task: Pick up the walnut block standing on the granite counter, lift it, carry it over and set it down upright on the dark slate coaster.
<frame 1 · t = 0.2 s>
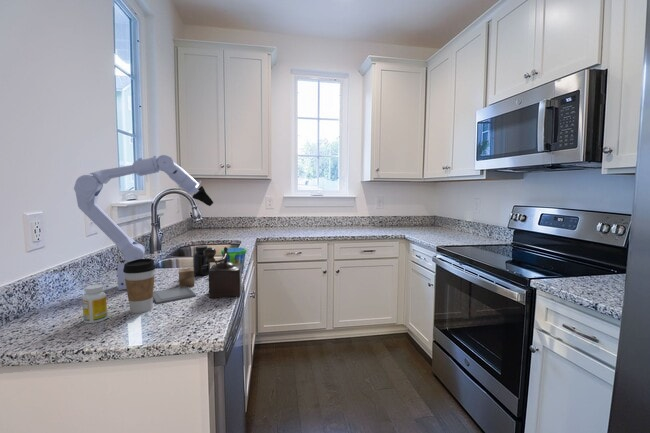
hand: (211, 203, 129), 31 cm above the counter, tool tilted 45°, fingers open, 7 cm apart
supplement bottle 2: (95, 320, 89), on the counter
coffee cup: (141, 310, 97), on the counter
block: (186, 285, 121), on the counter
manual coffee grinder: (224, 296, 110), on the counter
supplement bottle: (202, 274, 136), on the counter
snack cup: (234, 272, 139), on the counter
coaster: (173, 295, 110), on the counter
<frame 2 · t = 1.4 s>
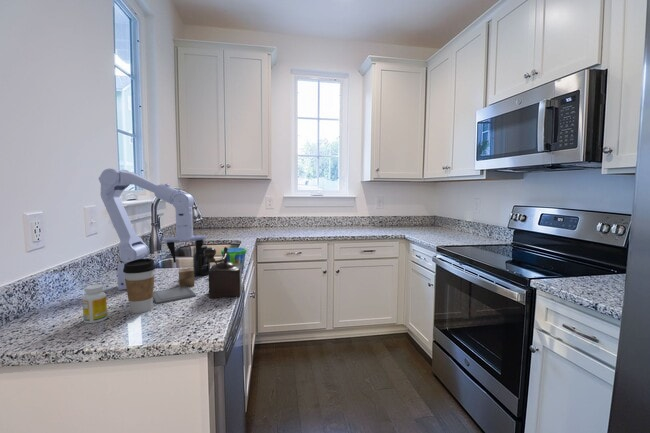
hand: (185, 261, 120), 9 cm above the counter, tool pointing down, fingers open, 7 cm apart
nothing on the counter moved.
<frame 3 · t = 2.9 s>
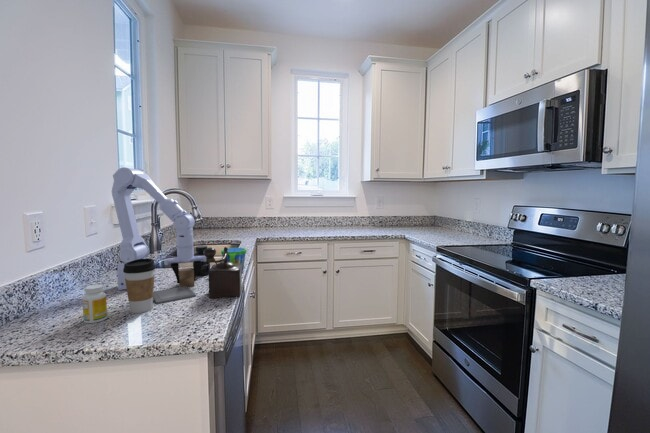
hand: (186, 281, 121), 1 cm above the counter, tool pointing down, fingers closed on block, 5 cm apart
block: (186, 285, 121), on the counter, touching gripper
everything else where it was.
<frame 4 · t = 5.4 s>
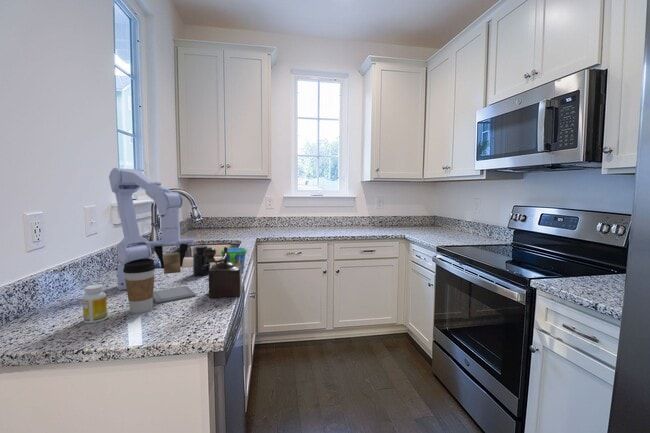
hand: (172, 266, 109), 10 cm above the counter, tool pointing down, fingers closed on block, 5 cm apart
block: (172, 271, 109), point 8 cm above the counter, touching gripper
everything else where it was.
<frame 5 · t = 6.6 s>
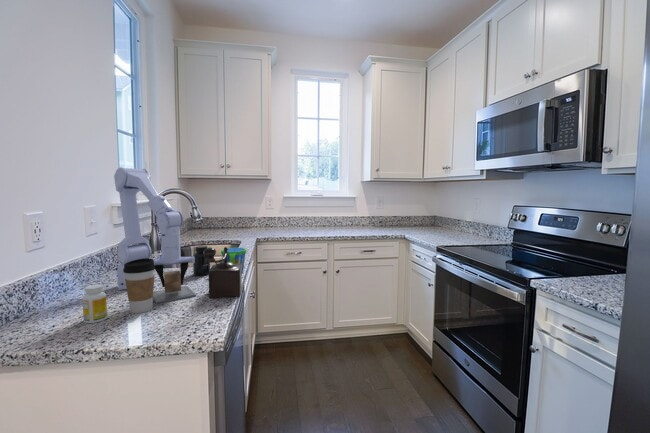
hand: (172, 285, 109), 3 cm above the counter, tool pointing down, fingers closed on block, 5 cm apart
block: (172, 289, 110), point 2 cm above the counter, touching gripper
everything else where it was.
when the fingers open (3 cm above the counter, at t = 7.6 s): block stays where it is, resting on coaster.
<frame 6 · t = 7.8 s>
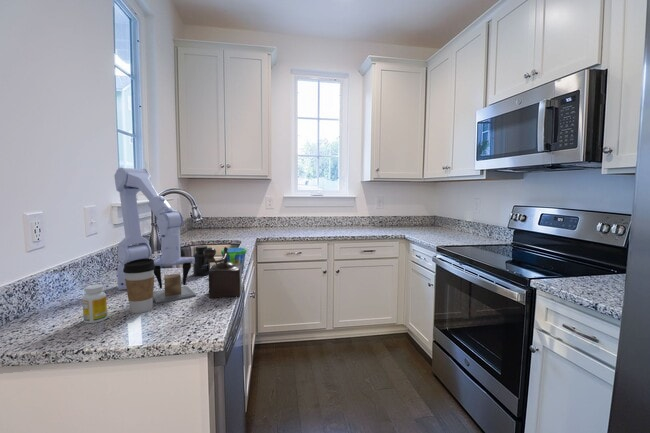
hand: (172, 286, 109), 3 cm above the counter, tool pointing down, fingers open, 7 cm apart
block: (173, 292, 110), point 1 cm above the counter, touching coaster
everything else where it was.
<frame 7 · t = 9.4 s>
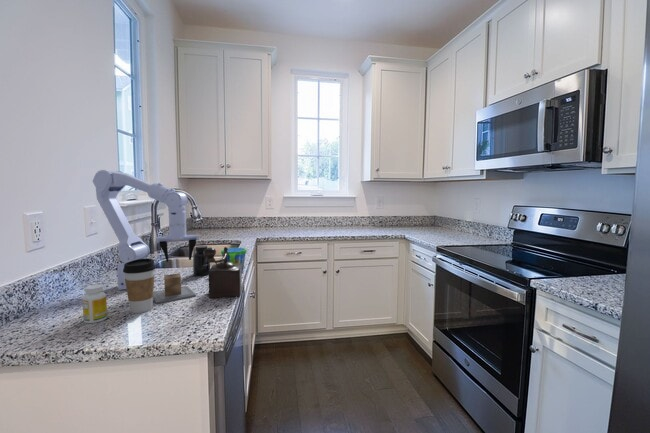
hand: (178, 260, 119), 10 cm above the counter, tool pointing down, fingers open, 7 cm apart
nothing on the counter moved.
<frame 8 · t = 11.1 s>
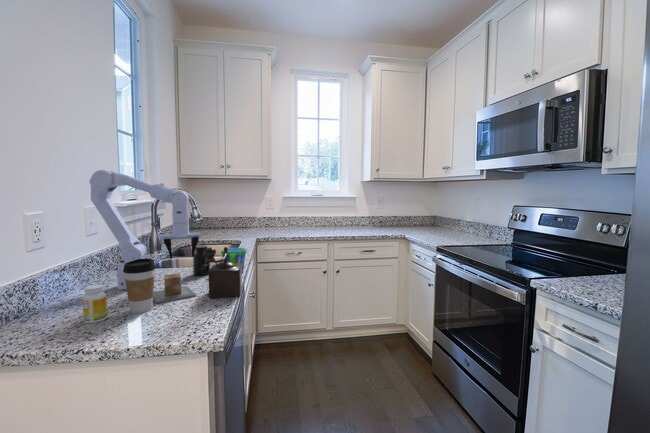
hand: (182, 257, 124), 10 cm above the counter, tool pointing down, fingers open, 7 cm apart
nothing on the counter moved.
at the end: block inside the target area on the coaster (0.1 cm from its centre), point 0.7 cm above the coaster's base; block tilted 0°; the gripper is holding nothing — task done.
